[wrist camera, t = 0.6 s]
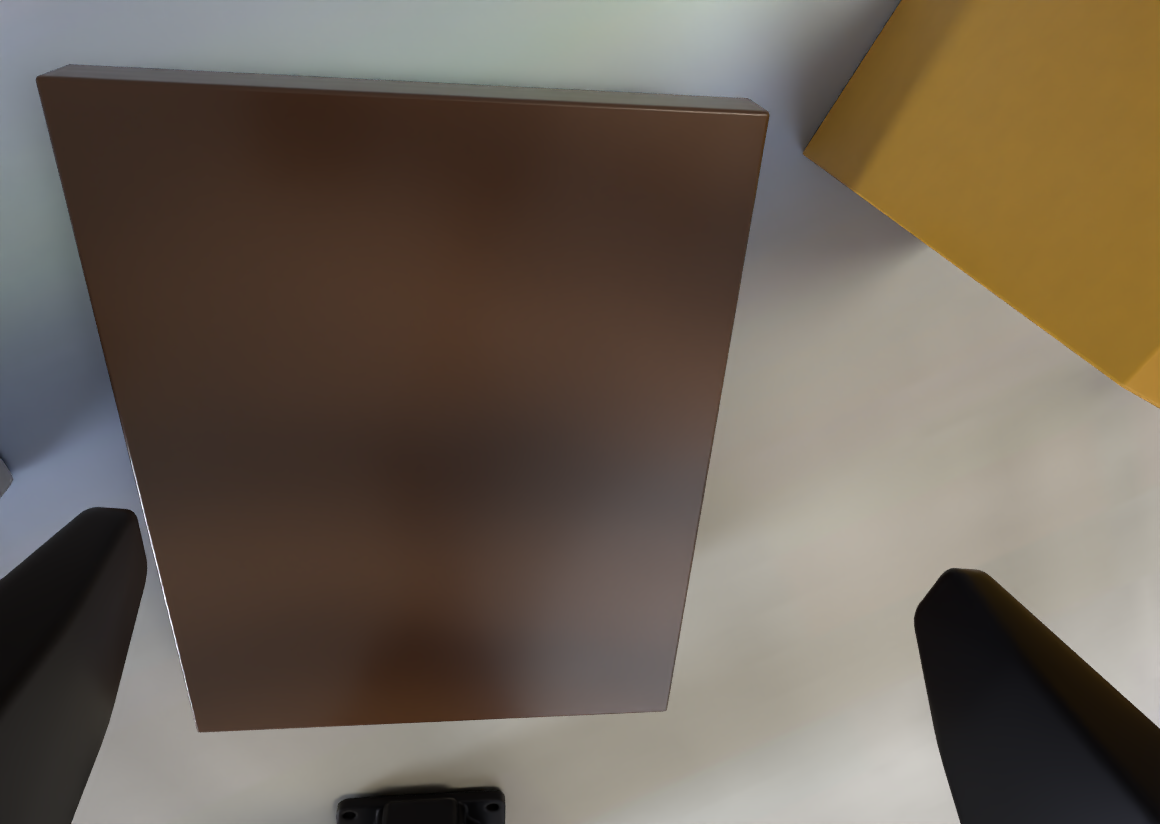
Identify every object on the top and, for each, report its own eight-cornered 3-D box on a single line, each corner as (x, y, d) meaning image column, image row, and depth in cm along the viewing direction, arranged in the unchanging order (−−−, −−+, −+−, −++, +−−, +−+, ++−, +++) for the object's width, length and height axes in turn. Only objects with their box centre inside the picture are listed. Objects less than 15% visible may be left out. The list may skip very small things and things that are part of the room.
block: (942, 237, 23) (1340, 511, 13) (801, 153, 22) (1121, 387, 11) (1071, 67, 21) (1677, 221, 11) (926, -40, 20) (1469, 15, 9)
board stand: (644, 620, 29) (667, 712, 26) (230, 633, 28) (196, 734, 24) (722, 78, 20) (771, 111, 17) (112, 46, 19) (32, 75, 15)
